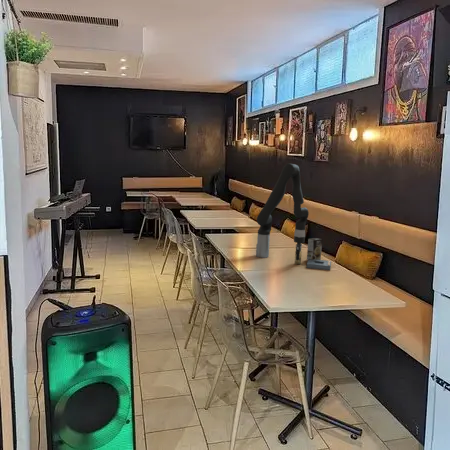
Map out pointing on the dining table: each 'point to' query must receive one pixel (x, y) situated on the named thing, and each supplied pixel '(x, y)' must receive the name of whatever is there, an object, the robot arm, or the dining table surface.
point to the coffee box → (314, 248)
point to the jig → (319, 264)
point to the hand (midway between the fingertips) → (297, 259)
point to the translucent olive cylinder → (299, 258)
